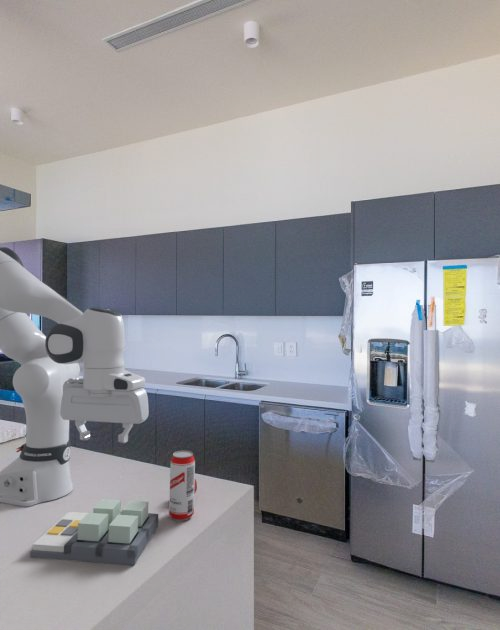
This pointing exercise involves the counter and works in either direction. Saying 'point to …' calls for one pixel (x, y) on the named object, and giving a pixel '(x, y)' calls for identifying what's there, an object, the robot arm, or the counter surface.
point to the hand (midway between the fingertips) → (103, 440)
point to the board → (91, 543)
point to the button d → (137, 510)
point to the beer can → (182, 485)
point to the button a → (93, 527)
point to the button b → (108, 508)
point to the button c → (123, 529)
